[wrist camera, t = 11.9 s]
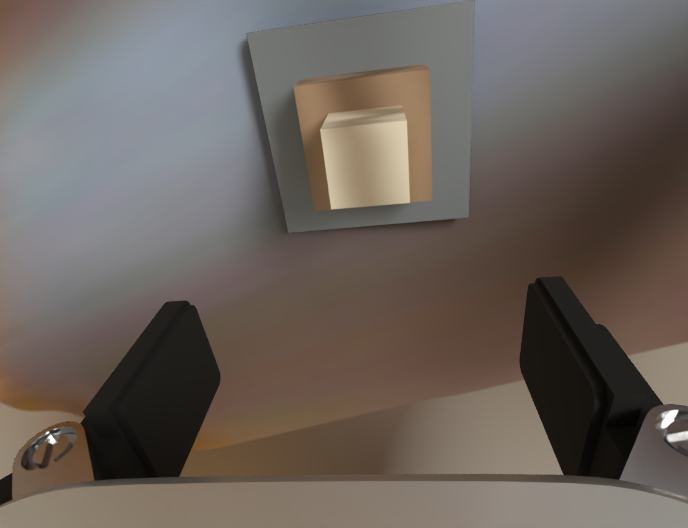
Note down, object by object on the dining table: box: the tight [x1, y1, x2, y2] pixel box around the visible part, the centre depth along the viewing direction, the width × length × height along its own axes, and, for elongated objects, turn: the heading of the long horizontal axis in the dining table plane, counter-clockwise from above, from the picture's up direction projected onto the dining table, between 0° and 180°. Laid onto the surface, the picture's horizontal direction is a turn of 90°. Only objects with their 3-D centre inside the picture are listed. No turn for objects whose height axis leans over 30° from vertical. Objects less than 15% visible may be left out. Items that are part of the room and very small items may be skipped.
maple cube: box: [320, 105, 410, 209], centre depth 27 cm, size 5×5×5 cm
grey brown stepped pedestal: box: [246, 0, 475, 233], centre depth 32 cm, size 16×16×6 cm
